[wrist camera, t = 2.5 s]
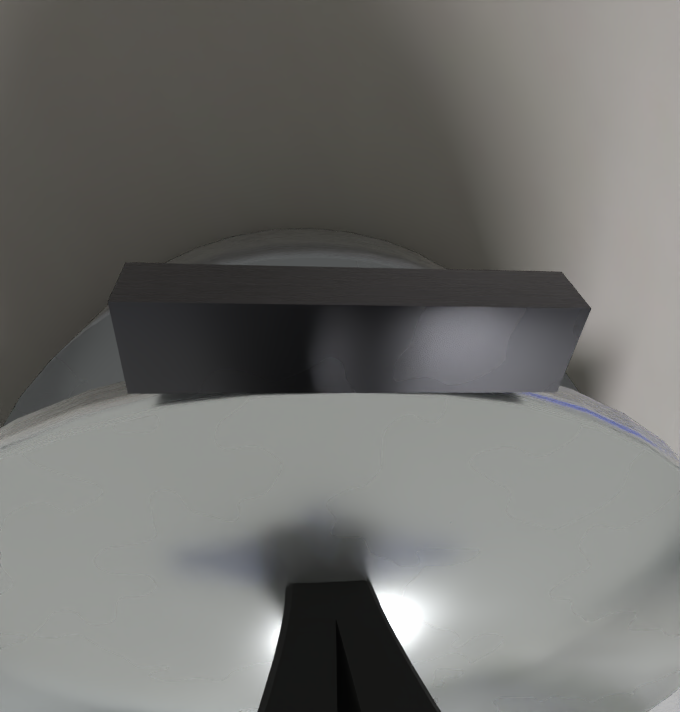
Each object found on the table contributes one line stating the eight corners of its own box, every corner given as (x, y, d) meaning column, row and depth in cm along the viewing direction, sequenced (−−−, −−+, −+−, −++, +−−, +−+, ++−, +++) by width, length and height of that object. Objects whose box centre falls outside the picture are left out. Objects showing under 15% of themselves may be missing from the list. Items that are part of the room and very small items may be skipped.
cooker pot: (549, 672, 23) (602, 777, 19) (22, 705, 20) (-35, 830, 17) (657, 238, 16) (768, 267, 13) (-92, 216, 14) (-224, 244, 10)
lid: (562, 763, 18) (588, 841, 17) (17, 806, 16) (-11, 899, 15) (998, 280, 7) (1197, 380, 6) (-514, 248, 5) (-839, 382, 4)
